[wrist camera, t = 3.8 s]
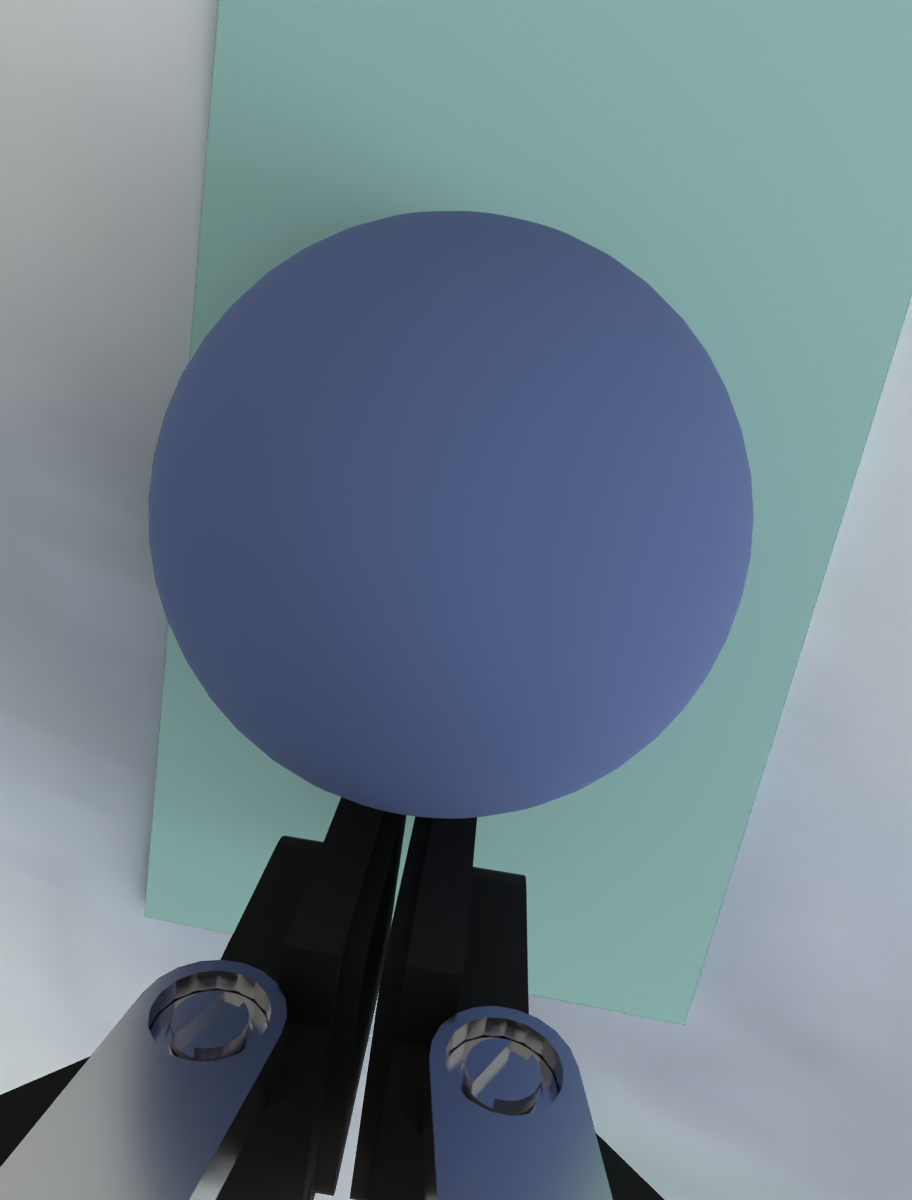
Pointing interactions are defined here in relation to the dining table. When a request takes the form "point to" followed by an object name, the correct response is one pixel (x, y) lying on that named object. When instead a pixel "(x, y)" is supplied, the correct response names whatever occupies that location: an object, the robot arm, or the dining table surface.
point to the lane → (681, 277)
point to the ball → (451, 514)
